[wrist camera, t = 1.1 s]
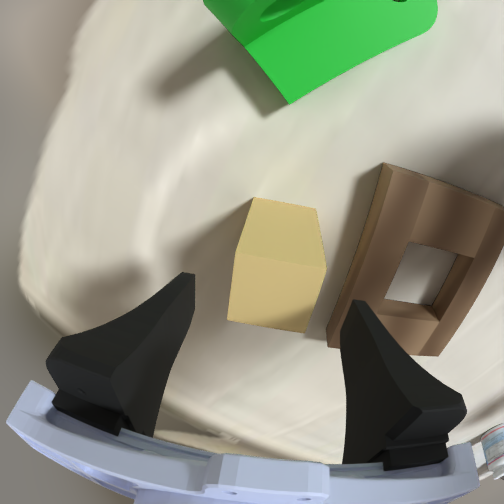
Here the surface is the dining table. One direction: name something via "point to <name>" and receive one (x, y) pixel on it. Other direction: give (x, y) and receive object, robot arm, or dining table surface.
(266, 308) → the sand colored cuboid
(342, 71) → the mechanical part
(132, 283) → the dining table surface
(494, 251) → the brown square frame
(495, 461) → the pill bottle
